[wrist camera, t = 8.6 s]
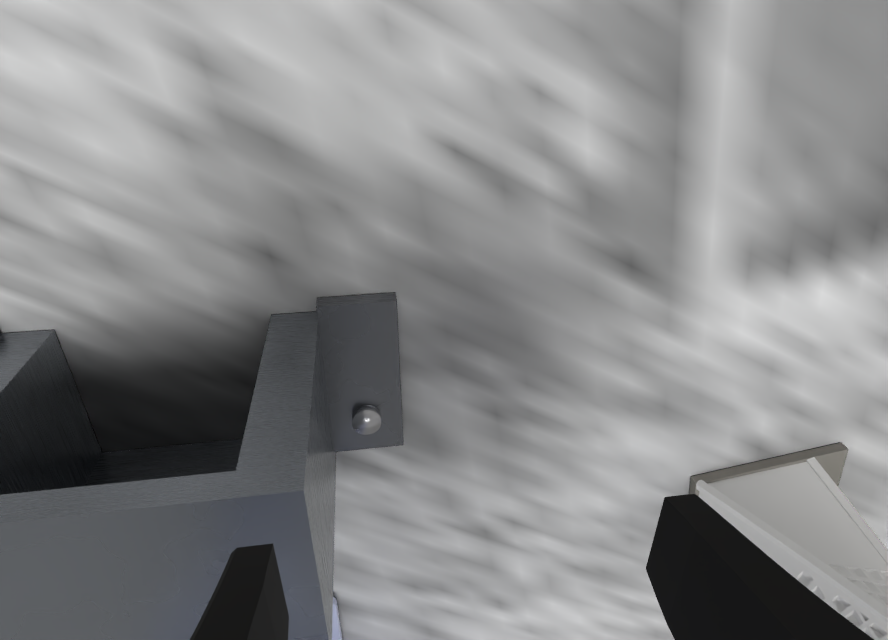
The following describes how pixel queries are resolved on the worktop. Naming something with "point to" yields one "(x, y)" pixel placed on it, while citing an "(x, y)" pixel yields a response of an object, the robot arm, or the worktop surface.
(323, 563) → the bracket sleeve
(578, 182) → the worktop surface
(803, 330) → the worktop surface
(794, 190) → the worktop surface
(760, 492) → the skyscraper
